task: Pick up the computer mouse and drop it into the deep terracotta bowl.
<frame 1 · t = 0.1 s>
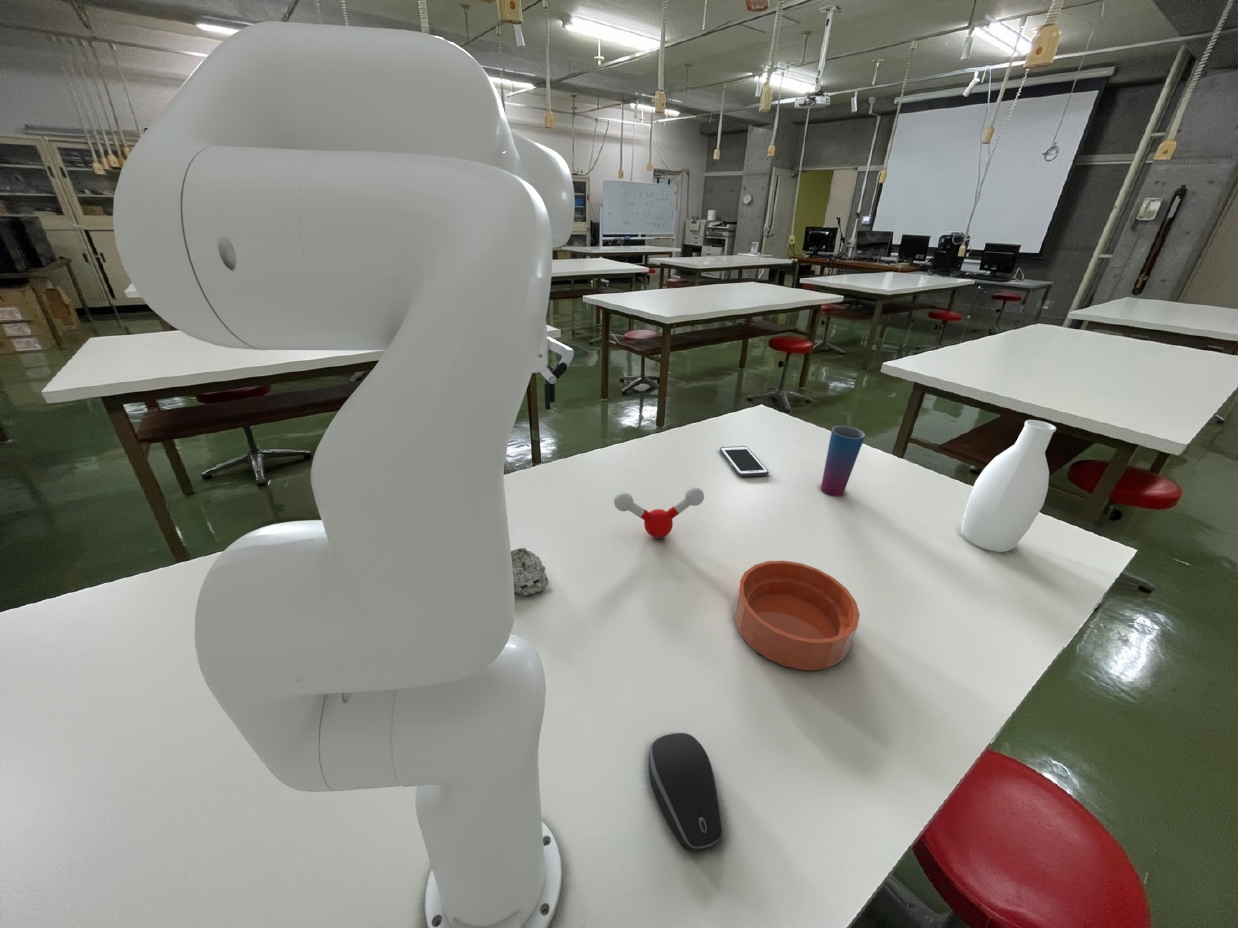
hand: (514, 406, 72), 31 cm above the table, tool pointing down, fingers open, 9 cm apart
rock sample: (525, 581, 86), on the table
bowl: (789, 626, 79), on the table
computer mouse: (683, 791, 56), on the table
bottle: (985, 539, 101), on the table
cup: (831, 491, 116), on the table
molecular model: (657, 535, 99), on the table
cell phone: (742, 463, 127), on the table
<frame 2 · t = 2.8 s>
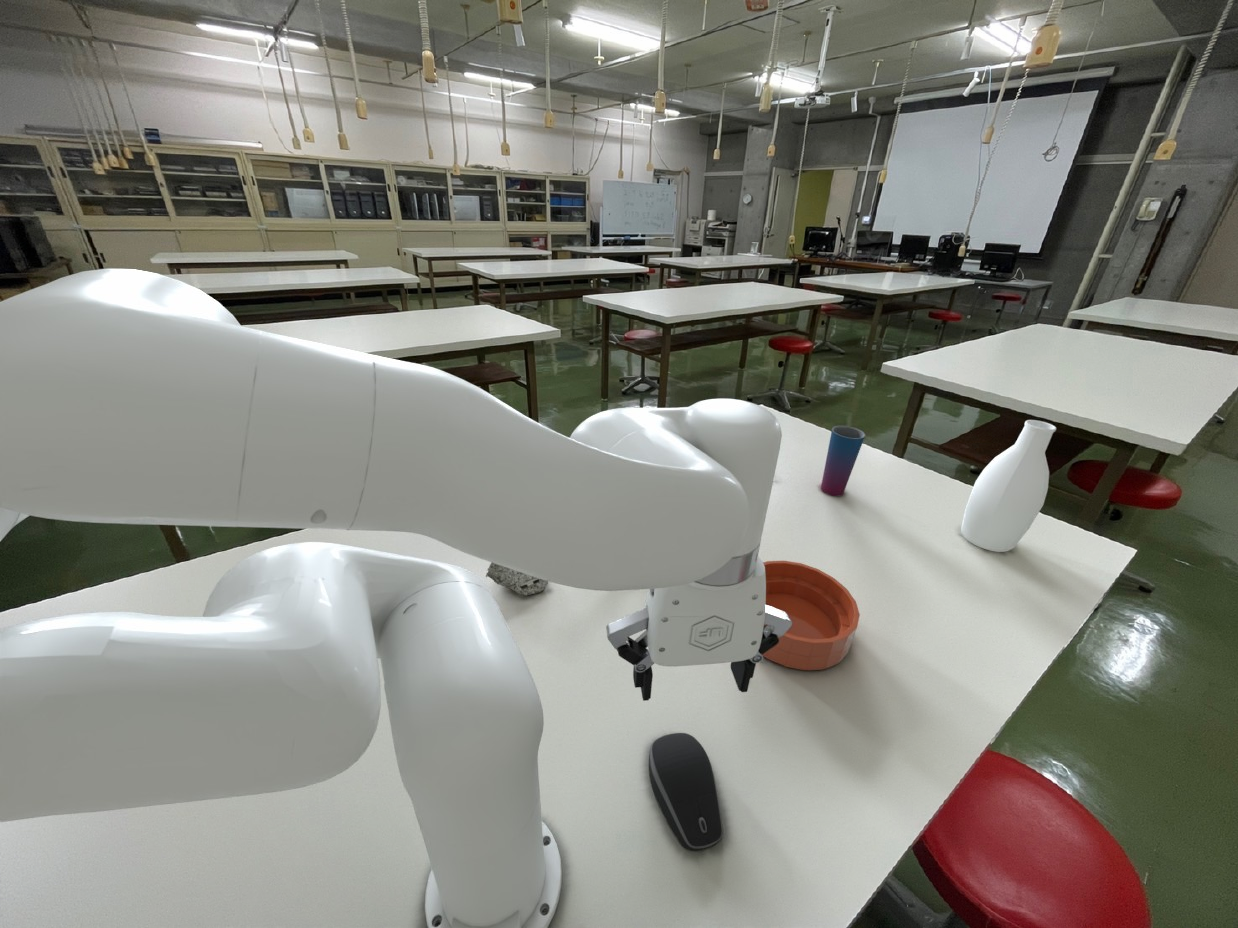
hand: (691, 683, 50), 16 cm above the table, tool pointing down, fingers open, 9 cm apart
nothing on the table moved.
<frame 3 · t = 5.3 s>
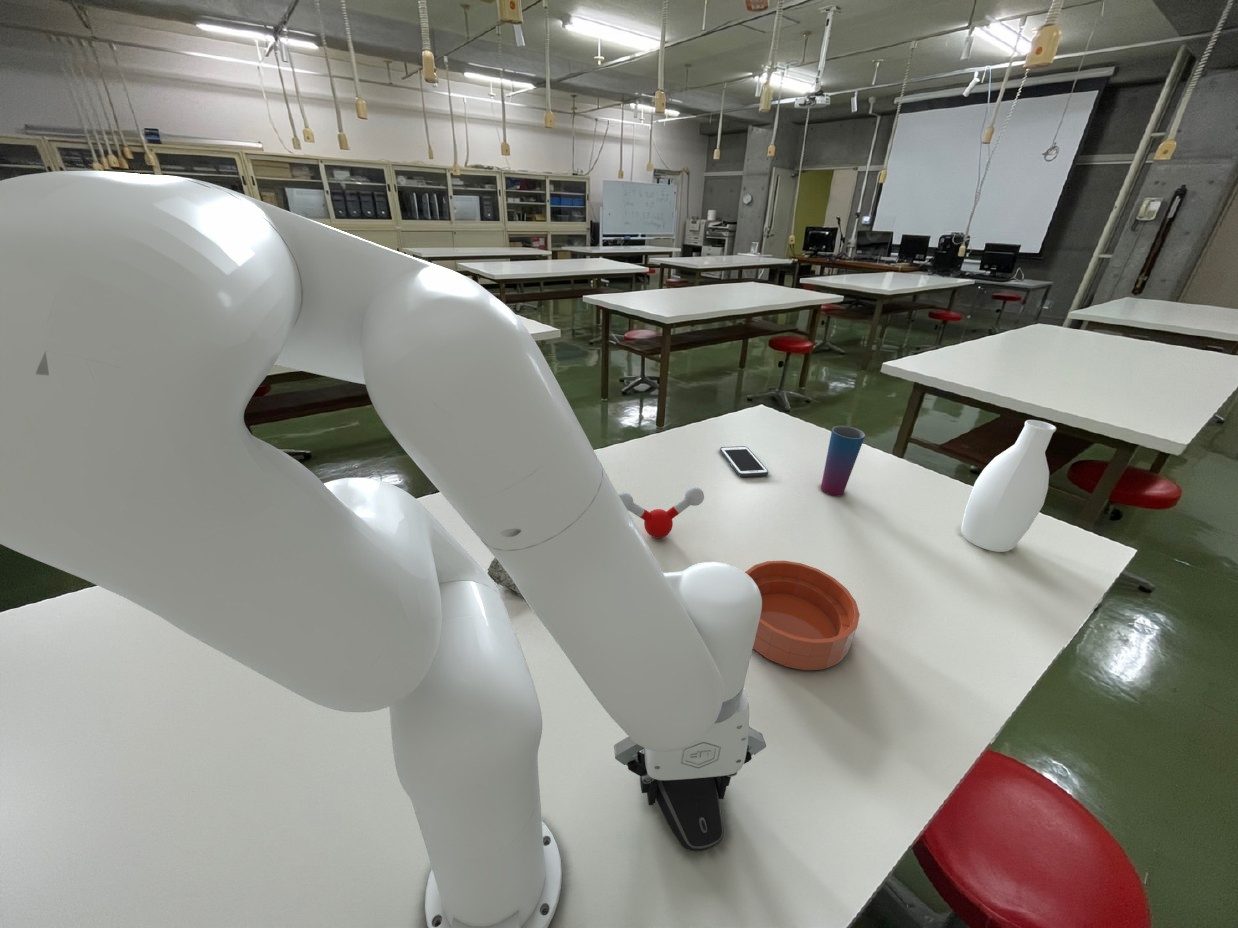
hand: (683, 787, 56), 1 cm above the table, tool pointing down, fingers closed on computer mouse, 7 cm apart
computer mouse: (684, 791, 56), on the table, touching gripper
everything else where it was.
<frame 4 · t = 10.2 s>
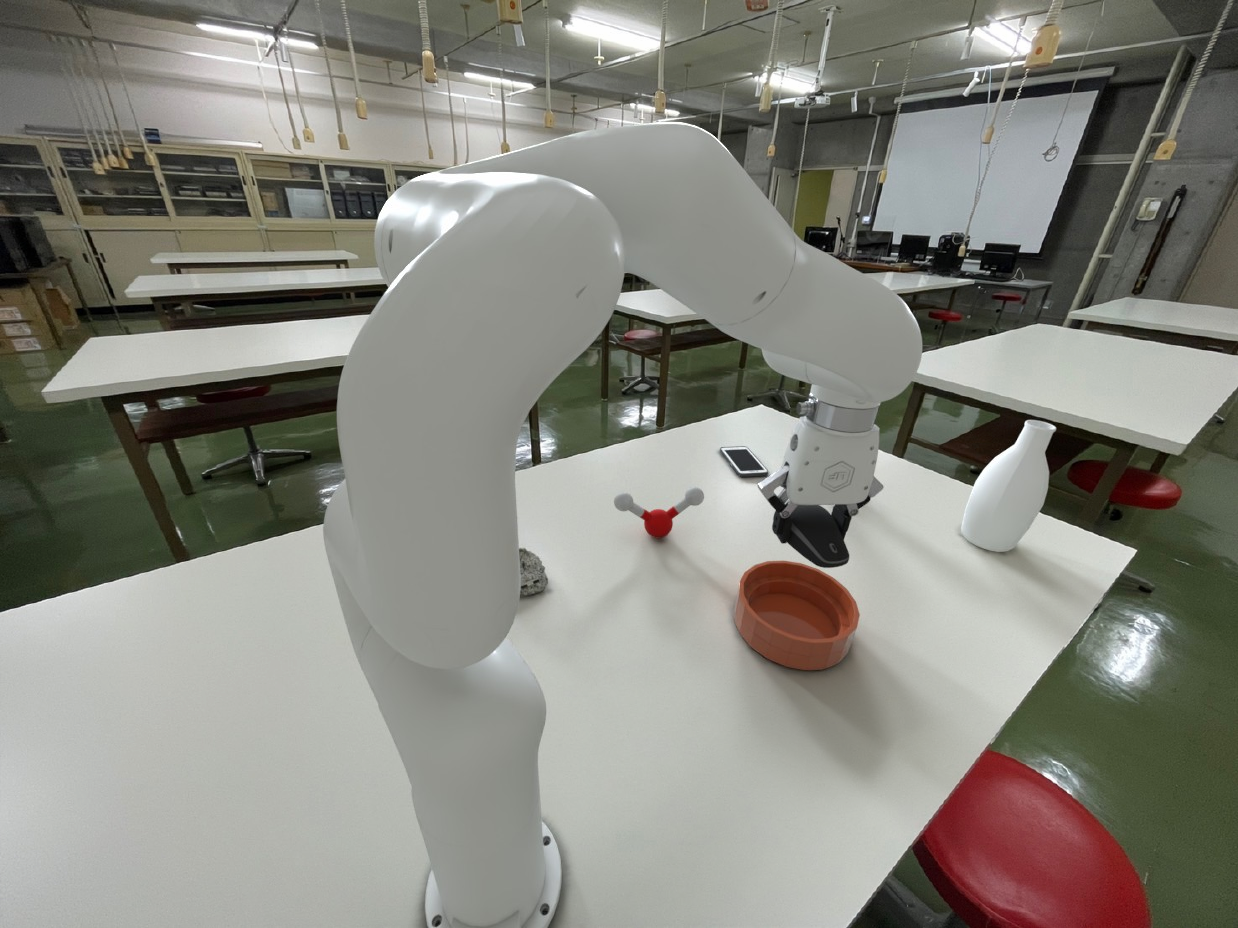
hand: (807, 535, 66), 20 cm above the table, tool pointing down, fingers closed on computer mouse, 7 cm apart
computer mouse: (807, 540, 67), point 19 cm above the table, touching gripper
everything else where it was.
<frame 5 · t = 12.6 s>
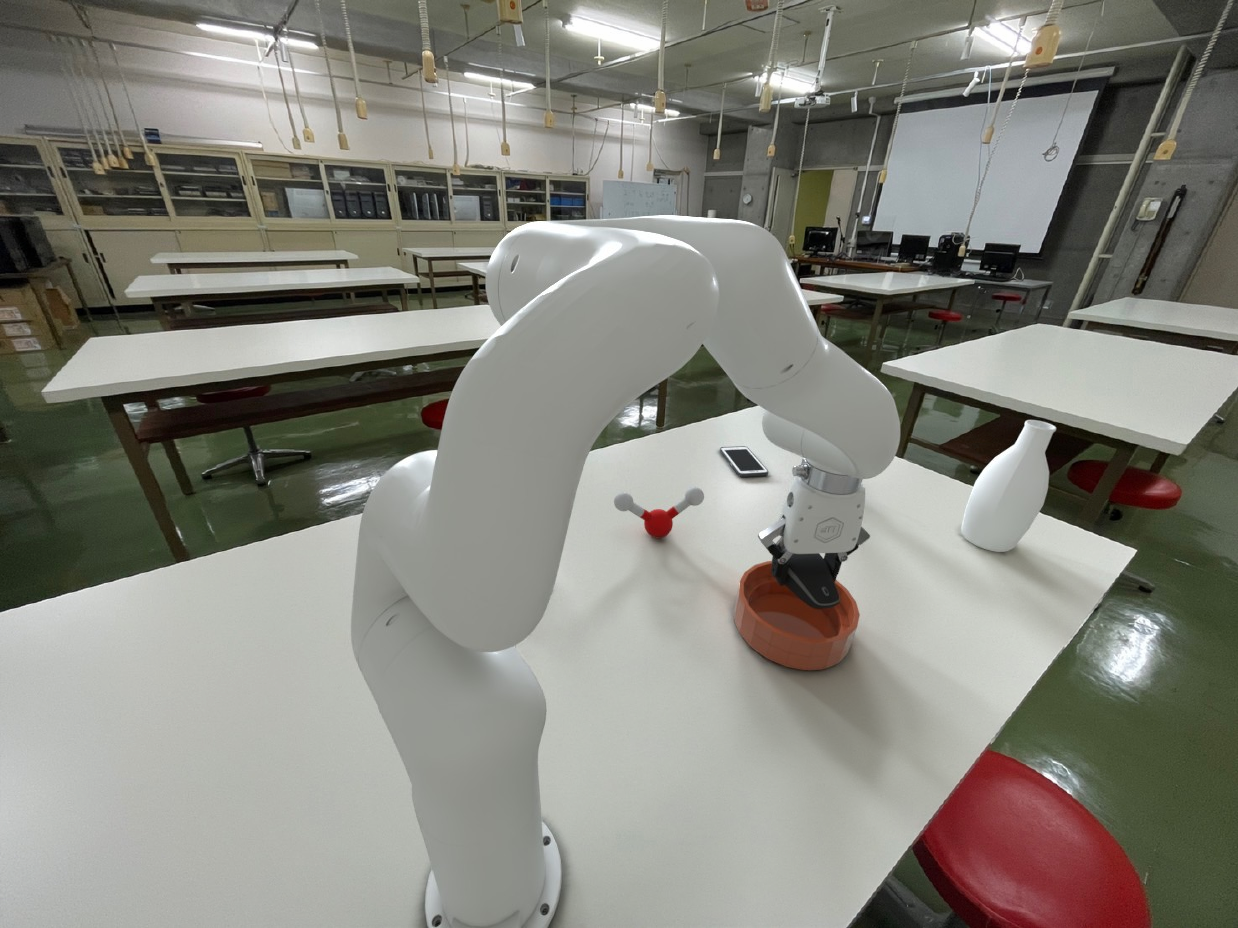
hand: (802, 577, 74), 10 cm above the table, tool pointing down, fingers closed on computer mouse, 7 cm apart
computer mouse: (802, 581, 74), point 9 cm above the table, touching gripper
everything else where it was.
when the fingers open (4 cm above the table, at t = 14.9 s): computer mouse drops 3 cm, resting on bowl.
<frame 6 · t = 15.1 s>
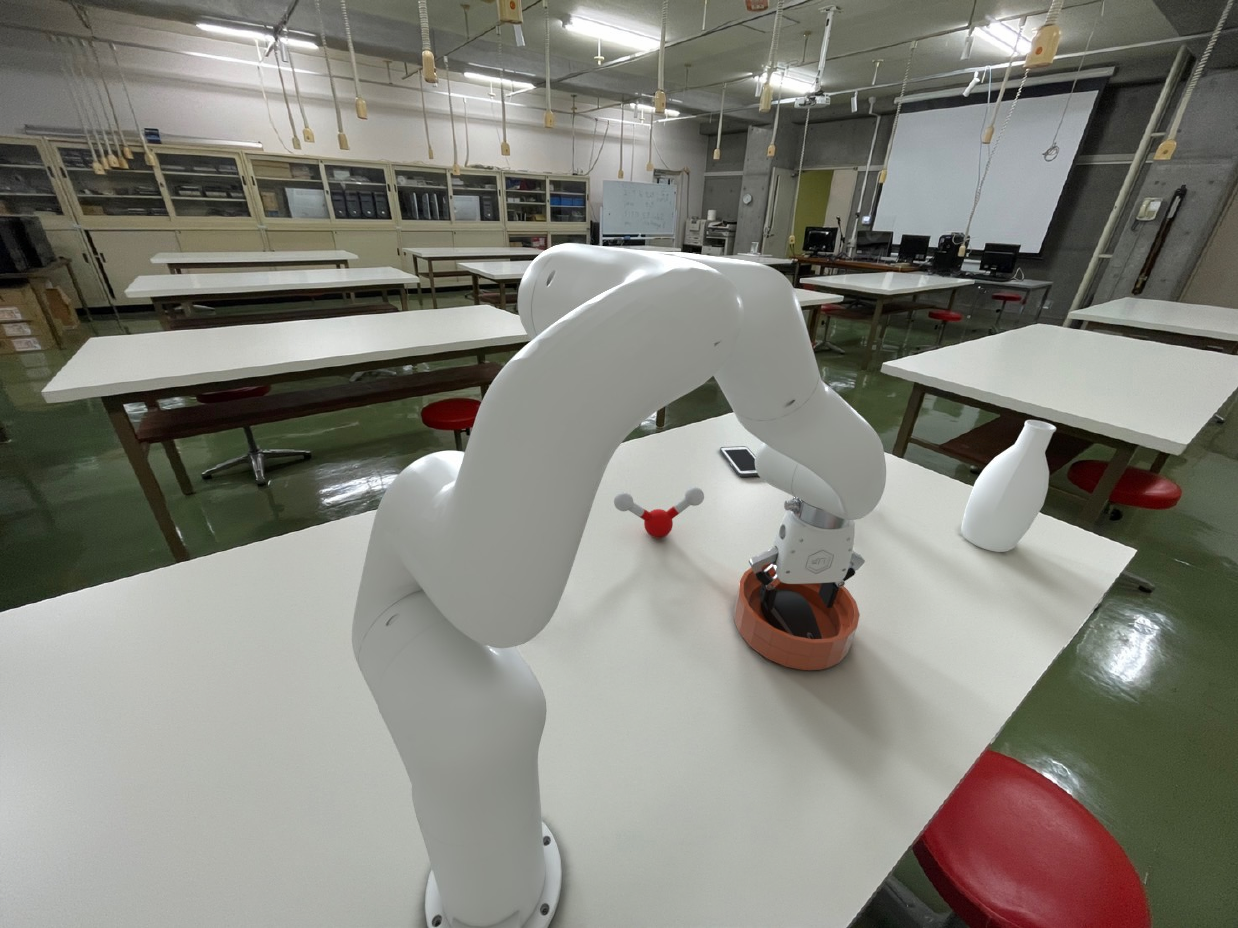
hand: (795, 602, 76), 5 cm above the table, tool pointing down, fingers open, 9 cm apart
computer mouse: (789, 625, 78), resting on bowl
everything else where it was.
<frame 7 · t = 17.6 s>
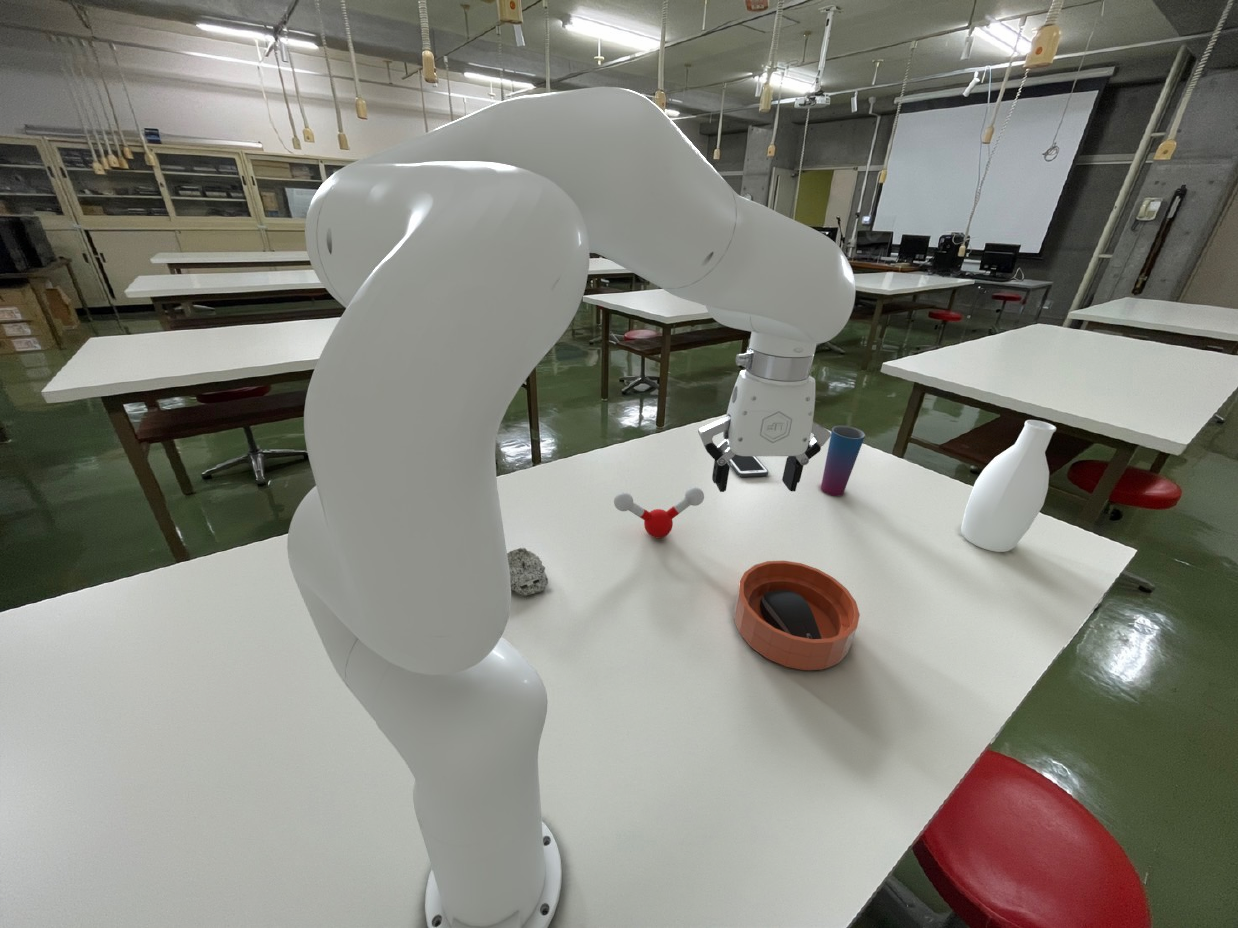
hand: (754, 486, 68), 24 cm above the table, tool pointing down, fingers open, 9 cm apart
nothing on the table moved.
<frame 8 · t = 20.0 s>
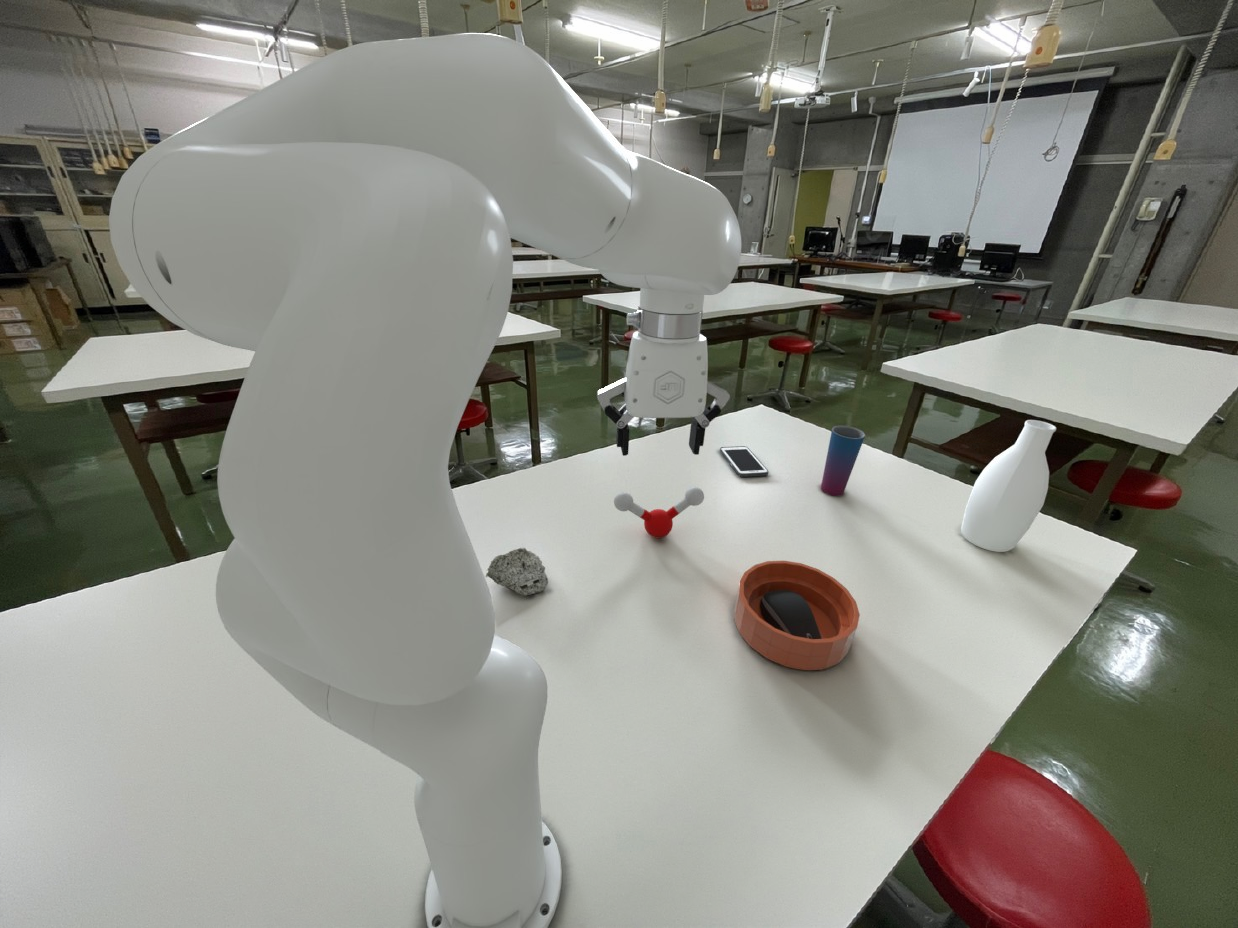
hand: (659, 450, 68), 28 cm above the table, tool pointing down, fingers open, 9 cm apart
nothing on the table moved.
at the end: computer mouse inside the target area in the bowl (0.4 cm from its centre), point 0.3 cm above the bowl's base; the gripper is holding nothing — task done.
